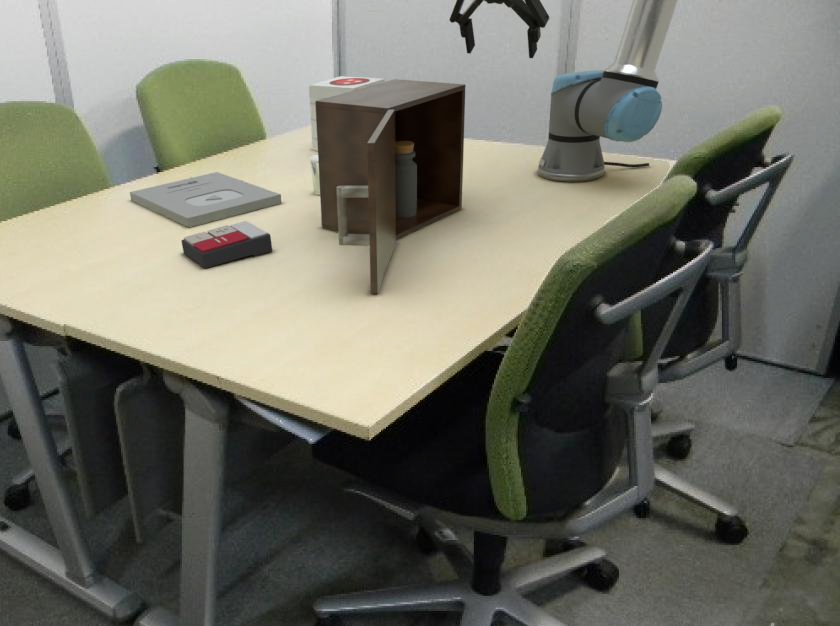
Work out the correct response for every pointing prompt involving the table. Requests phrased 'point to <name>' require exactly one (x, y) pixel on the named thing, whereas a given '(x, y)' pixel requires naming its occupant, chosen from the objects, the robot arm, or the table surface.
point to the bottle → (405, 180)
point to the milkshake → (315, 173)
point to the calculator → (226, 244)
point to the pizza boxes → (332, 89)
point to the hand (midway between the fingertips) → (501, 51)
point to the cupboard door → (375, 201)
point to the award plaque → (204, 198)
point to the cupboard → (414, 121)
